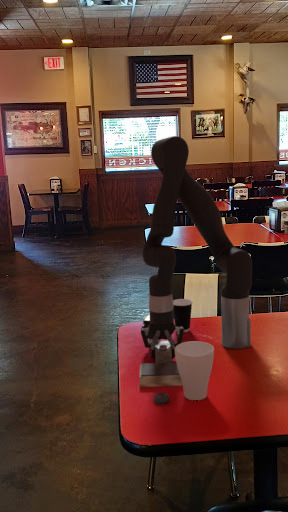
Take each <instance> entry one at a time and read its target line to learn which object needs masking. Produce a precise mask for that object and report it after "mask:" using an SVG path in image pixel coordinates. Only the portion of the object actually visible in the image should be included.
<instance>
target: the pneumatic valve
mask: <svg viewBox="0 0 288 512" xmlns="http://www.w3.org/2000/svg"><path fill="white" fill-rule="evenodd" d="M142 324H143V325H142V326H141V328H144V329H145V328H148V327H149V325H150V313H149V314H148V315H147V316H144V317H143V321H142ZM146 336H147V339H148V342H149V343H151V342H152V339H153V335H152V334H151V332H150V331H148V335H146ZM157 341H161V340H157ZM148 349H149V350H151V349H150V348H148Z"/></svg>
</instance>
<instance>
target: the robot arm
mask: <svg viewBox="0 0 288 512" xmlns="http://www.w3.org/2000/svg"><path fill="white" fill-rule="evenodd" d="M150 153H151V159H152V161H153V163H154V165H155V166H156V168H157V169H158V171H159V172H160V173H161V174H162V180H161V185H160V188H159V190H158V193H157V196H156V199H155V201H154V203H153V208H152V212H151V213H152V215H151V222H150V224H151V225H150V230H149V233H148V234H147V238H146V239H145V243H144V245H143V249H142V259H143V262H144V264H145V265H147V266H148V267H153V268H158V272H157V273H154V274H151V276H150V277H149V280H148V289H149V292H148V293H149V295H148V296H149V298H148V309H149V311H148V312H149V314H150V325H149V327H148V328H145V329H144V328H142V327H141V329H140V335H141V338H142V342H143V346H144V348H145V349H149V348H150V349H149V350H150V357H151V359H153V361H156V357H155V345H156V343H157V340H160V341H162V340H164V341H169V343H170V345H171V351H172V361H173V360H174V358H175V347H176V346H177V345H178V344H181V343H183V341H182V340H183V337H184V333H185V332H184V328H183V327H182V326H181V327H176V326H175V321H174V312H173V307H174V305H173V300H174V299H173V286H172V285H173V283H172V282H173V281H172V280H173V277H174V273H175V267H176V264H177V254H176V251H175V249H174V248H173V247H172V246H170V245H164V244H163V242H164V240H165V238H166V239H167V238H170V237H172V236H173V235H174V231H175V223H176V222H175V221H176V214H177V213H176V210H177V205H178V201H180V203H181V205H182V206H183V208H184V209H185V212H186V213H187V215H188V217H189V218H190V220H191V221H192V223H193V225H194V226H195V228H196V229H197V231H198V233H199V234H200V236H201V237H202V239H203V240H204V241H205V243H206V244H207V246H208V248H209V250H210V252H211V254H212V257H213V259H214V262H215V263H216V265H217V267H218V268H219V270H220V271H221V272H223V273H224V274H226V280H225V281H226V283H225V285H223V286H222V287H221V288H220V295H221V296H220V298H221V299H220V301H221V302H220V303H221V305H220V307H221V309H220V310H221V313H220V314H221V315H220V316H221V319H220V320H221V344H222V346H223V347H224V348H227V349H231V350H232V349H233V350H241V349H245V348H249V347H250V348H251V346H252V345H251V344H252V343H251V341H252V337H251V336H252V335H251V332H252V330H251V329H252V328H251V326H252V325H251V318H250V291H251V289H252V283H253V281H252V279H253V260H252V257H251V254H250V253H249V252H247V251H246V250H245V249H244V250H243V249H240V248H238V247H236V246H235V245H234V244H233V243H232V241H231V239H230V238H229V237H228V235H227V233H226V232H225V229H224V225H223V218H222V214H221V212H220V209H219V207H218V205H217V204H216V201H215V200H214V199H213V197H212V195H211V193H210V192H209V191H208V190H207V189H206V188H205V187H204V186H203V185H202V184H201V183H199V182H198V181H197V180H195V178H194V177H192V176H191V174H190V173H189V172H188V170H187V169H186V166H187V162H188V158H189V153H190V149H189V145H188V142H187V141H186V140H185V139H184V138H182V137H181V136H178V135H177V136H176V135H174V136H168V137H166V138H161V139H159V140H157V141H155V142H154V143H153V144H152V146H151V150H150ZM148 331H150V332H151V334H152V335H153V339H152V342H151V343H149V341H148V340H149V339H147V336H146V335H148ZM175 331H176V334H177V337H176V341H174V339H173V334H174V333H175ZM175 359H176V358H175Z"/></svg>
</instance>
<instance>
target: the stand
mask: <svg viewBox="0 0 288 512" xmlns="http://www.w3.org/2000/svg"><path fill="white" fill-rule="evenodd" d="M138 379H139V388H145V387H146V388H149V387H150V388H151V387H152V388H153V387H181V386H182V387H183V384H182V380H181V376H180V373H179V370H178V367H177V362H176V361H174V362H173V361H172V362H169V363H156V362H148V363H147V362H144V363H143V362H142V363H140V364H139V378H138Z"/></svg>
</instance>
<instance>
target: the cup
mask: <svg viewBox="0 0 288 512" xmlns="http://www.w3.org/2000/svg"><path fill="white" fill-rule="evenodd" d="M214 355H215V347H214V345H212V344H210V343H208V342H205V341H199V340H198V341H197V340H196V341H195V340H192V341H184V342H181V344H178V345H177V346H176V347H175V362H177V367H178V370H179V373H180V376H181V380H182V387H183V389H182V390H183V396H184V398H186V399H187V400H190V401H193V400H195V401H196V400H198V401H202V400H204V399H206V398H207V395H208V386H209V382H210V376H211V373H212V371H213V370H212V368H213V363H214V358H215V357H214Z"/></svg>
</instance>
